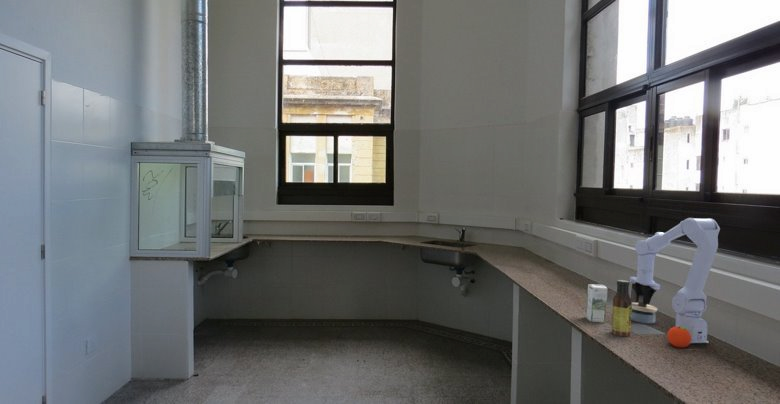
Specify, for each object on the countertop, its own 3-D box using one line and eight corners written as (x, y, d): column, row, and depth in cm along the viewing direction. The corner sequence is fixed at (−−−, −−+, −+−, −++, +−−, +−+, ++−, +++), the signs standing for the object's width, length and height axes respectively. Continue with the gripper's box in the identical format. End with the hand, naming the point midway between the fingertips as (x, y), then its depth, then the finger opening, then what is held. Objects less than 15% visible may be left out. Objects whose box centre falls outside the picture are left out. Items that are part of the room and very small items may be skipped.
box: (636, 312, 193) (638, 285, 193) (629, 309, 198) (631, 282, 197) (648, 312, 194) (650, 285, 193) (641, 309, 198) (643, 282, 198)
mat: (666, 335, 164) (666, 333, 164) (637, 335, 162) (637, 334, 162) (642, 324, 176) (642, 323, 176) (615, 325, 174) (615, 324, 174)
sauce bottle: (632, 338, 158) (636, 283, 158) (613, 336, 160) (617, 282, 159) (626, 332, 165) (630, 279, 164) (608, 330, 166) (612, 278, 165)
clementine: (690, 345, 153) (692, 325, 153) (697, 352, 147) (698, 331, 147) (664, 342, 156) (665, 322, 156) (669, 348, 150) (670, 327, 149)
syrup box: (600, 319, 181) (602, 284, 180) (605, 323, 175) (607, 287, 174) (585, 318, 181) (587, 283, 181) (590, 322, 175) (592, 286, 175)
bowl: (660, 324, 177) (660, 315, 177) (640, 324, 176) (640, 315, 176) (643, 317, 186) (644, 308, 186) (624, 317, 185) (625, 309, 184)
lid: (662, 313, 175) (663, 300, 175) (635, 311, 176) (636, 298, 176) (648, 306, 186) (649, 294, 186) (622, 303, 186) (623, 292, 186)
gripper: (667, 273, 174) (665, 308, 174) (641, 266, 188) (639, 298, 188) (651, 273, 172) (649, 308, 173) (626, 266, 187) (624, 298, 187)
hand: (643, 303), depth 181 cm, fingers closed on lid, 3 cm apart
